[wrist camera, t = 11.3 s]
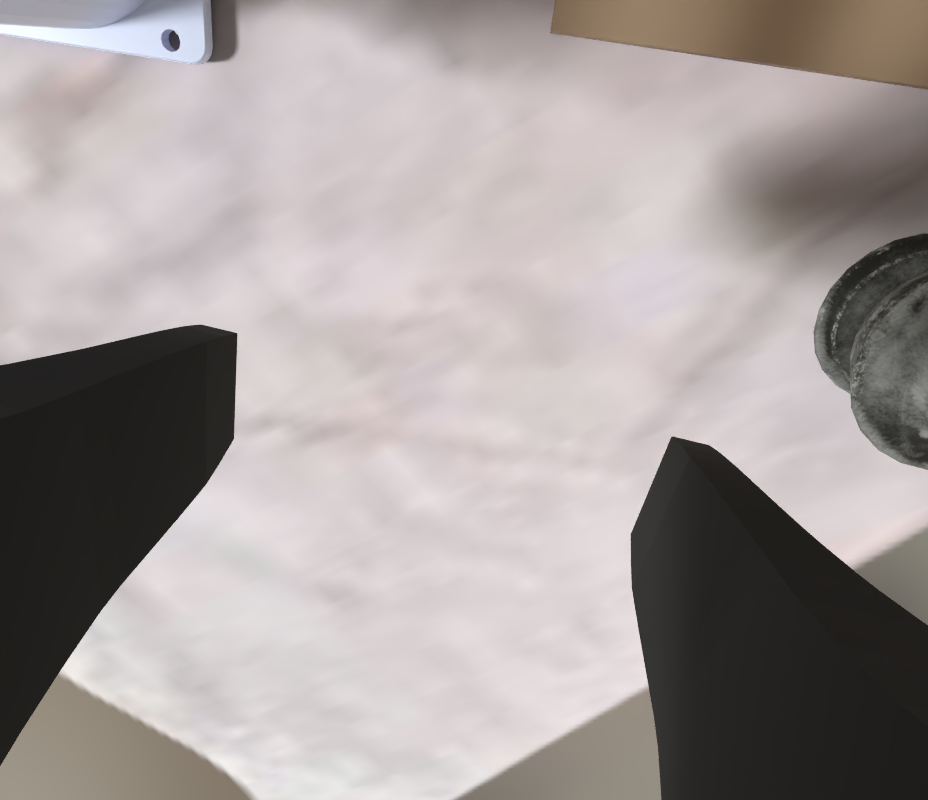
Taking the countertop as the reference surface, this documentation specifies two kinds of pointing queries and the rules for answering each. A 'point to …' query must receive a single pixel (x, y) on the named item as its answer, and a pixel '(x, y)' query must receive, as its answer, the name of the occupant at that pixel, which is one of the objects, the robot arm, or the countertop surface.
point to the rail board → (769, 32)
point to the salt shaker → (882, 346)
